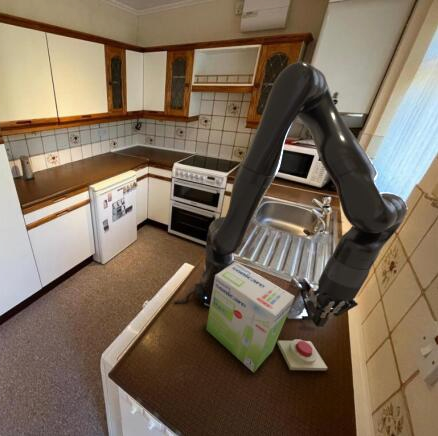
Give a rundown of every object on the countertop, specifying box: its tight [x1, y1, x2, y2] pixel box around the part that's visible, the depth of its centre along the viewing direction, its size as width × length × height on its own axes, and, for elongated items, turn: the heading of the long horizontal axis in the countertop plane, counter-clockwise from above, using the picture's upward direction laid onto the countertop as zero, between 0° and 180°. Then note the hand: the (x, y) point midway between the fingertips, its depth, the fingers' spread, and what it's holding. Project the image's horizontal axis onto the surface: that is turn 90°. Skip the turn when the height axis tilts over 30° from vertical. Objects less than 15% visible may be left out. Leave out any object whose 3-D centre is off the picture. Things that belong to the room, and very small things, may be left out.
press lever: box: [298, 280, 314, 321], centre depth 78 cm, size 12×5×2 cm
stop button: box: [296, 340, 312, 357], centre depth 68 cm, size 4×4×2 cm
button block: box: [276, 339, 328, 371], centre depth 69 cm, size 10×8×4 cm
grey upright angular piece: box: [286, 277, 315, 320], centre depth 83 cm, size 10×8×13 cm
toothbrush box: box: [205, 261, 295, 374], centre depth 69 cm, size 18×10×24 cm, turn 37°
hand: (317, 323), depth 64 cm, fingers closed
